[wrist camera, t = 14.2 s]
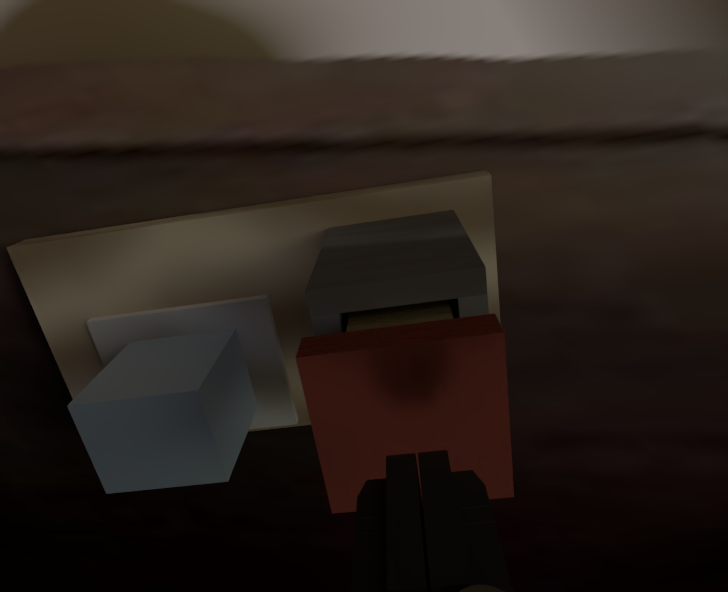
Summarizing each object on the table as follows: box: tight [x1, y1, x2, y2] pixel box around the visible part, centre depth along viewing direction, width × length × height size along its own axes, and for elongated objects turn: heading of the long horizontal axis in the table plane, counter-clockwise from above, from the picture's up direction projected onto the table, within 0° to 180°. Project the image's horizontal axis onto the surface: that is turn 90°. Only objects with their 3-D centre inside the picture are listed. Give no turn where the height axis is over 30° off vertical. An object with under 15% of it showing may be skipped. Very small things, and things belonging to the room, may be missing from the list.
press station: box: [7, 170, 500, 431], centre depth 25 cm, size 13×25×10 cm, turn 99°
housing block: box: [67, 328, 258, 494], centre depth 26 cm, size 5×6×6 cm
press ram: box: [295, 300, 514, 513], centre depth 18 cm, size 6×6×7 cm
